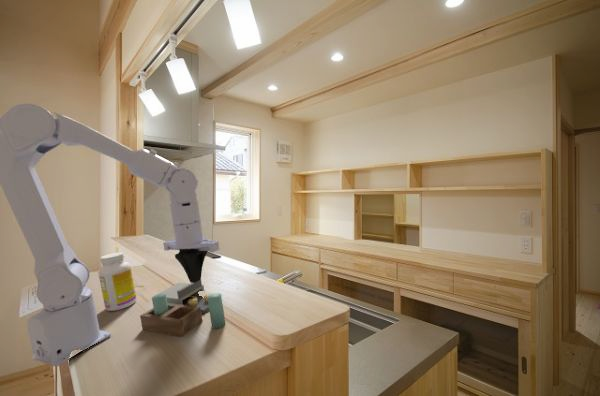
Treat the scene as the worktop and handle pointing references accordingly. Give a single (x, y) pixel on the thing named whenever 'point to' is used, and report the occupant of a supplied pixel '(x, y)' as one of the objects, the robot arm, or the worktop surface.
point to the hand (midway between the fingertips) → (195, 280)
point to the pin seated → (160, 304)
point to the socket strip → (172, 320)
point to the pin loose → (216, 310)
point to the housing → (182, 292)
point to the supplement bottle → (116, 282)
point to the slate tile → (199, 303)
